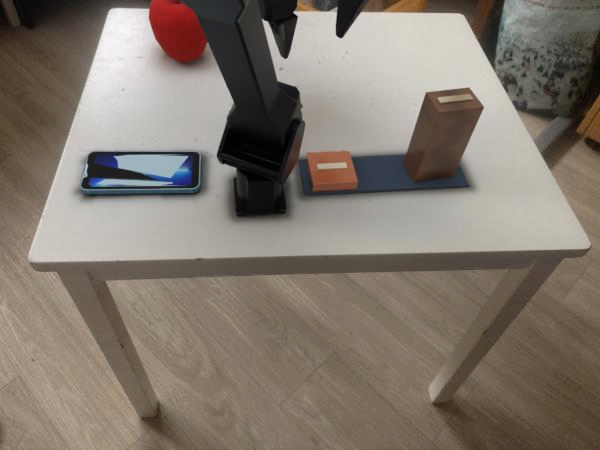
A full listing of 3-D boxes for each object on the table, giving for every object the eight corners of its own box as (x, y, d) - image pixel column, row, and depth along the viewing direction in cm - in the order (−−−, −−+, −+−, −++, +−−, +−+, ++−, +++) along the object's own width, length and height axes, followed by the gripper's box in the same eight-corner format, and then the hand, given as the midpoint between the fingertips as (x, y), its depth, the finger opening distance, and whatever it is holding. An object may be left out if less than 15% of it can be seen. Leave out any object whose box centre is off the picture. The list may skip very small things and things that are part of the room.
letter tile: (312, 191, 64) (313, 183, 63) (306, 160, 68) (306, 151, 67) (356, 189, 65) (358, 180, 64) (347, 158, 69) (349, 149, 67)
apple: (225, 59, 83) (221, -4, 74) (177, 79, 78) (167, 14, 70) (192, 34, 87) (185, -29, 78) (144, 52, 82) (131, -13, 74)
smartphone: (199, 189, 63) (77, 190, 61) (200, 194, 63) (79, 196, 61) (201, 150, 67) (88, 150, 65) (201, 155, 68) (89, 155, 66)
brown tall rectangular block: (414, 182, 67) (440, 111, 57) (403, 162, 69) (426, 90, 59) (453, 176, 68) (485, 105, 58) (441, 157, 70) (469, 85, 61)
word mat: (304, 196, 64) (305, 194, 64) (298, 161, 68) (298, 159, 68) (468, 186, 67) (469, 184, 67) (453, 154, 71) (454, 152, 71)
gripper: (342, -125, 59) (328, 2, 71) (207, -100, 51) (217, 38, 63) (407, -94, 53) (380, 37, 66) (269, -60, 46) (267, 81, 58)
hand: (312, 46), depth 63 cm, fingers open, 9 cm apart
